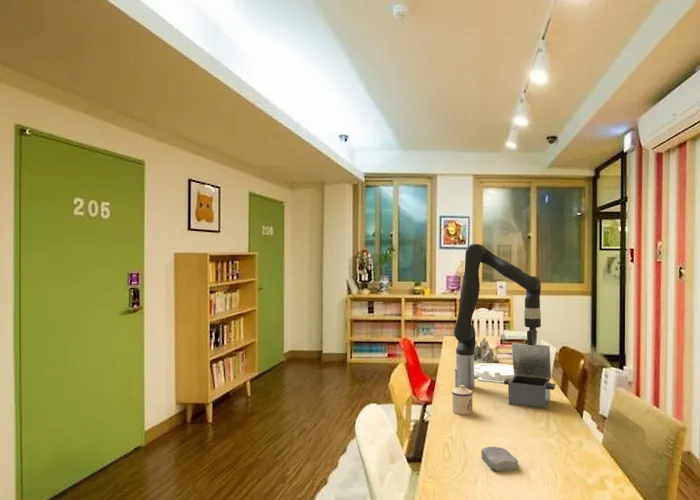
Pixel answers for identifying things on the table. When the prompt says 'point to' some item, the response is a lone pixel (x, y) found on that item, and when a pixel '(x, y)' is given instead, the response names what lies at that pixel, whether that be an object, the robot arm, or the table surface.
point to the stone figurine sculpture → (483, 353)
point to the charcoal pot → (529, 391)
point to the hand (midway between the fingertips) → (533, 352)
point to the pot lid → (531, 359)
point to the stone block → (499, 459)
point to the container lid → (493, 372)
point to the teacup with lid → (462, 400)
